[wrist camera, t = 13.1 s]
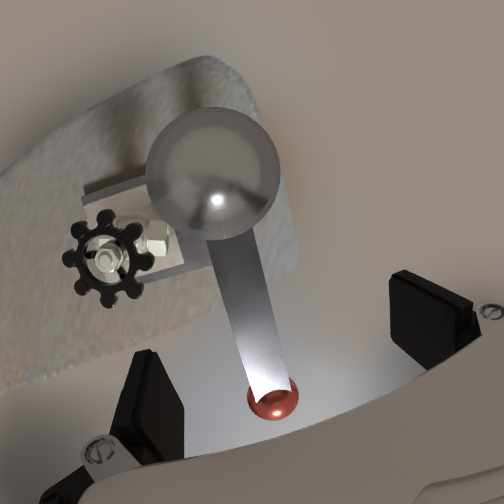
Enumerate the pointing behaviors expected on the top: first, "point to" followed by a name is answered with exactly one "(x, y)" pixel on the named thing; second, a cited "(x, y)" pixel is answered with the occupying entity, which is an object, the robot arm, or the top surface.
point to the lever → (242, 292)
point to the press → (195, 188)
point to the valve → (117, 252)
